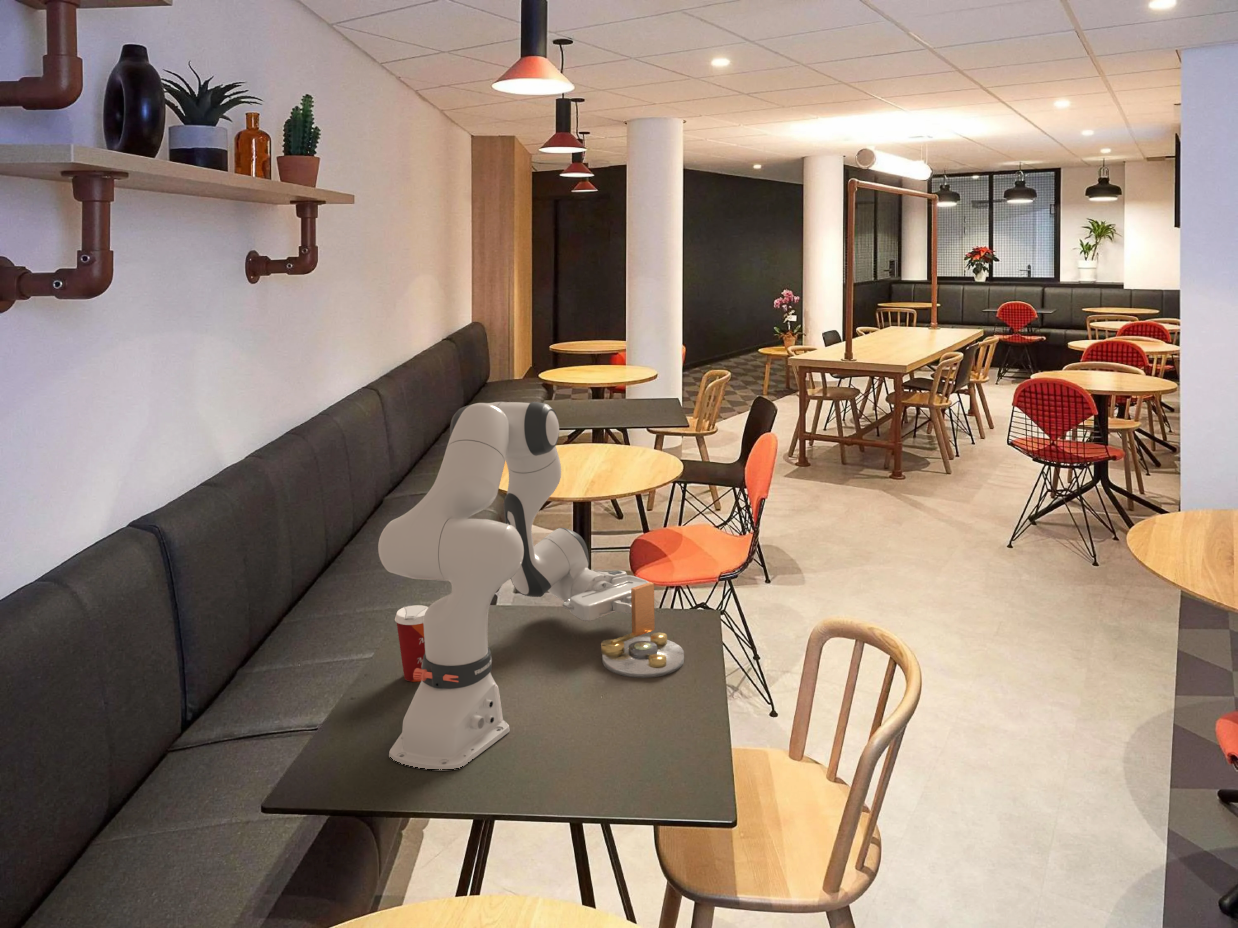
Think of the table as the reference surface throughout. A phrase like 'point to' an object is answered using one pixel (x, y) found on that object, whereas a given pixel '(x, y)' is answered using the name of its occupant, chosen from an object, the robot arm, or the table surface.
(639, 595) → the vane knob
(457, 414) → the robot arm
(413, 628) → the paper cup
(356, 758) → the table surface
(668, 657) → the levelling base
